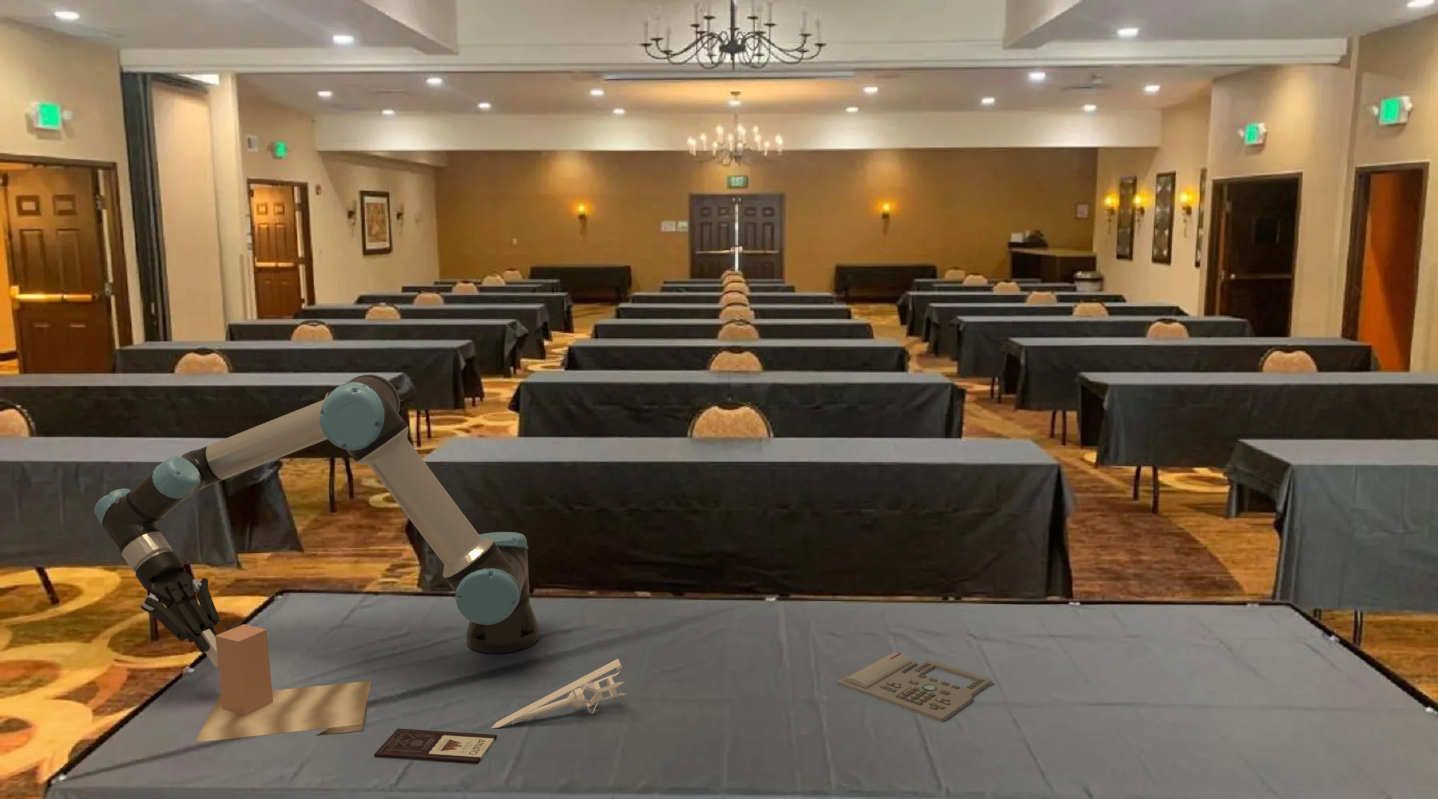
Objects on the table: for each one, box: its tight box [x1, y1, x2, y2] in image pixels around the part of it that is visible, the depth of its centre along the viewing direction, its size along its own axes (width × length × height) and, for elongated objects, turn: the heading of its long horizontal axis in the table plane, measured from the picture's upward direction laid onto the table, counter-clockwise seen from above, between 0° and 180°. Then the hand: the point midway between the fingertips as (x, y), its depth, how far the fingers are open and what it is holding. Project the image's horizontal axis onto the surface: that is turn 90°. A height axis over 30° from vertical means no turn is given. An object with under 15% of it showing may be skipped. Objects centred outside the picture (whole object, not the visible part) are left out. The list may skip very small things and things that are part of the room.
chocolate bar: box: [373, 728, 498, 765], centre depth 180 cm, size 9×1×18 cm
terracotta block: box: [215, 623, 273, 716], centre depth 192 cm, size 6×6×14 cm
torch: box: [491, 658, 627, 729], centre depth 191 cm, size 6×9×25 cm
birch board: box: [194, 680, 373, 744], centre depth 192 cm, size 27×18×1 cm, turn 103°
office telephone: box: [836, 652, 993, 723], centre depth 202 cm, size 23×3×20 cm
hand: (222, 662), depth 195 cm, fingers closed
